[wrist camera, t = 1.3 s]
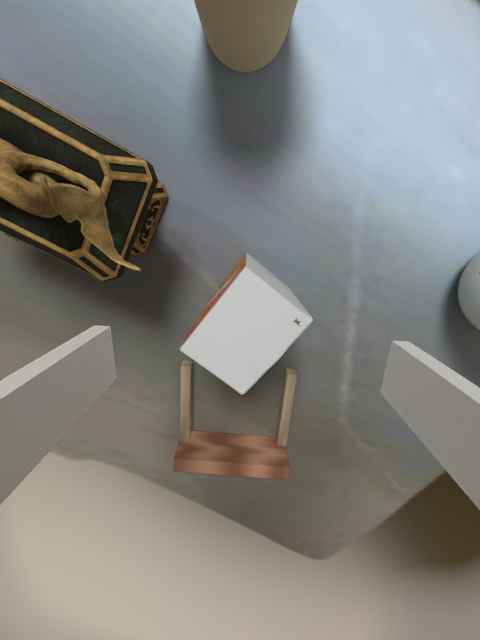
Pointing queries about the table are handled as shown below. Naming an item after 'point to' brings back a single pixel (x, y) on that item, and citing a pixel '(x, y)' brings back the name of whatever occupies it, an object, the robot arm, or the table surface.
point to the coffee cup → (245, 30)
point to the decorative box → (73, 189)
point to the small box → (246, 326)
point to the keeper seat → (233, 440)
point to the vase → (470, 291)
